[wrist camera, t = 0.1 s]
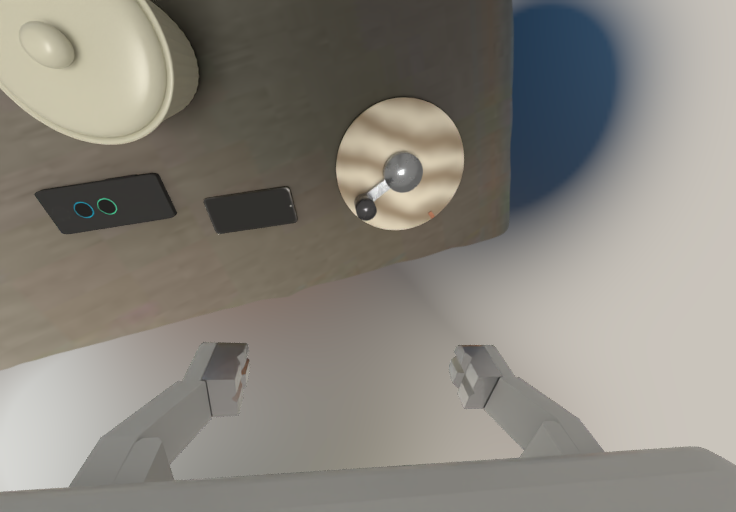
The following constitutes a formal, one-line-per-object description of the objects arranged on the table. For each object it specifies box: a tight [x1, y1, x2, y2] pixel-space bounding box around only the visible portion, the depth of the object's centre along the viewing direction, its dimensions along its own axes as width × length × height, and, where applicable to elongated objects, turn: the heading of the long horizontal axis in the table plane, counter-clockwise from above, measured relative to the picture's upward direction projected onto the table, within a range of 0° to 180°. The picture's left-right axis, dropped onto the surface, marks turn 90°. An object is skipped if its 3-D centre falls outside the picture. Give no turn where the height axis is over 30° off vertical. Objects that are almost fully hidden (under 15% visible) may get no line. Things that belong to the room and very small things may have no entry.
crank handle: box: [354, 151, 423, 221], centre depth 53 cm, size 14×7×6 cm, turn 127°
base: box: [336, 97, 464, 230], centre depth 56 cm, size 24×24×2 cm
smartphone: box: [204, 187, 298, 234], centre depth 57 cm, size 7×1×16 cm
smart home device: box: [34, 173, 177, 234], centre depth 53 cm, size 8×2×20 cm
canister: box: [0, 0, 199, 145], centre depth 35 cm, size 18×18×21 cm
